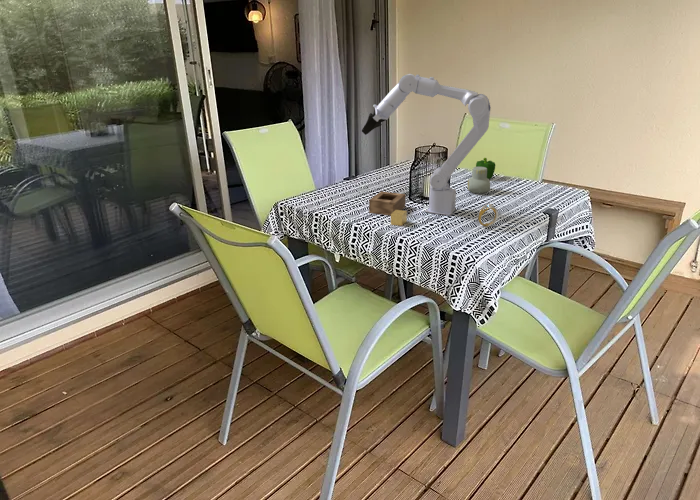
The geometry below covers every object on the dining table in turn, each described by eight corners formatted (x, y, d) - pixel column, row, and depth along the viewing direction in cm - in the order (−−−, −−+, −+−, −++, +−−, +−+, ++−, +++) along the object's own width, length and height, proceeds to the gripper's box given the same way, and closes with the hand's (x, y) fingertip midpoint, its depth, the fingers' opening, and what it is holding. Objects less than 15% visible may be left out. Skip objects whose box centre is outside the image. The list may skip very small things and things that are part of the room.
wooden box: (405, 206, 196) (405, 194, 194) (394, 216, 186) (394, 202, 184) (381, 203, 200) (381, 191, 198) (369, 212, 190) (369, 199, 188)
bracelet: (494, 224, 176) (496, 202, 173) (498, 227, 173) (500, 205, 170) (475, 225, 175) (477, 203, 172) (479, 229, 172) (481, 206, 169)
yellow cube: (406, 221, 181) (406, 211, 179) (401, 226, 177) (401, 215, 175) (395, 220, 182) (396, 209, 181) (390, 224, 178) (390, 213, 177)
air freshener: (490, 195, 207) (492, 171, 203) (469, 195, 208) (471, 171, 204) (486, 188, 217) (488, 165, 213) (466, 188, 218) (468, 164, 214)
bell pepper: (482, 175, 236) (484, 154, 232) (497, 179, 230) (499, 156, 226) (470, 178, 231) (472, 156, 227) (485, 182, 225) (487, 159, 221)
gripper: (386, 91, 187) (362, 118, 193) (378, 98, 174) (353, 127, 181) (400, 105, 188) (376, 131, 194) (393, 112, 175) (367, 141, 181)
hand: (366, 130), depth 187 cm, fingers open, 7 cm apart
